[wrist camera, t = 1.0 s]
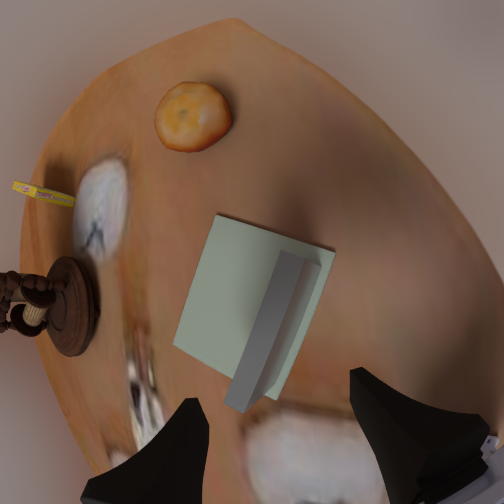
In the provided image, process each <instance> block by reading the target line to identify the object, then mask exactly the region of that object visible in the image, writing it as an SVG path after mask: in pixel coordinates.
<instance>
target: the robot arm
mask: <svg viewBox="0 0 504 504" xmlns="http://www.w3.org/2000/svg"><path fill="white" fill-rule="evenodd" d="M350 402H351V405H352V408H353V411H354V414H355V416H356V419H357V421H358V422H359V424H360V426H361V428H362V430H363V432H364V434H365V436H366V438H367V440H368V442H369V444H370V446H371V447H372V449H373V452H374V454H375V456H376V459H377V462H378V465H379V468H380V470H381V474H382V477H383V480H384V483H385V486H386V490H387V493H388V497H389V501H390V504H504V445H503V446H502V447H500V448H499V449H498V450H496V448H495V447H496V445H497V444H498V442H499V438H498V437H496V436H490V435H488V434H489V431H490V427H489V425H488V424H487V423H486V422H485V421H484V419H483V418H482V417H481V416H480V415H479V414H466V413H457V412H451V411H446V410H442V409H438V408H435V407H431V406H428V405H425V404H423V403H420V402H418V401H415V400H413V399H411V398H409V397H407V396H405V395H403V394H401V393H400V392H398V391H396V390H395V389H393V388H391V387H390V386H388V385H387V384H385V383H384V382H382V381H381V380H379V379H378V378H377V377H375V376H374V375H372V374H371V373H370V372H368V371H367V370H366V369H364V368H363V367H359V368H356V369H353V370H350ZM489 439H490V440H489ZM488 440H489V441H488ZM487 441H488V442H487ZM208 446H209V424H208V421H207V419H206V417H205V414H204V412H203V410H202V407H201V405H200V403H199V400H198V398H185V400H184V401H183V402H182V403H181V405H180V406H179V407H178V409H177V410H176V411H175V413H174V414H173V415H172V417H171V418H170V419H169V421H168V422H167V423H166V424H165V426H164V427H163V428H162V429H161V430H160V431H159V432H158V434H157V435H156V436H155V437H154V438H153V439H152V440H151V441H150V442H149V443H148V444H147V445H146V446H145V447H144V448H142V449H141V450H140V451H139V452H138V453H136V454H135V455H134V456H132V457H131V458H129V459H128V460H127V461H125V462H124V463H122V464H121V465H119V466H117V467H115V468H114V469H112V470H110V471H108V472H106V473H104V474H101V475H99V476H96V477H94V478H91V479H89V480H88V482H87V484H86V486H85V489H84V491H83V493H82V496H81V498H80V500H81V502H82V503H83V504H202V484H203V476H204V470H205V464H206V458H207V452H208Z"/></svg>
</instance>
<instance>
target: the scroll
mask: <svg viewBox="0 0 504 504" xmlns="http://www.w3.org/2000/svg"><path fill="white" fill-rule="evenodd" d="M21 301H22V302H27V303H26V304H18V305H16V306H14V307H13V309H12V310H11V313H10V318H11V321H10V322H8V321H7V320H6V314H7V313H8V310H9V309H10V303H11V302H21ZM98 316H100V312H99V311H97V310H94V300H93V293H92V288H91V284H90V280H89V277H88V275H87V272H86V270H85V268H84V267H83V265H82V264H81V263H80V262H79V261H78V260H77V259H75V258H72V257H61V258H59V259H57V260H56V261H55V262H54V264H53V265H52V267H51V268H50V270H49V273H48V275H47V277H44V276H39V275H36V274H22V273H17V272H15V271H8V272H7V273H0V333H3V332H4V331H5V330H8V328H10V329H13V330H17V331H18V332H19V333H21V334H23V335H24V336H28V337H35V336H37V335H39V334H40V333H41V331H43V330H45V329H47V332H48V334H49V336H50V338H51V340H52V342H53V344H54V345H55V347H56V348H57V349H58V351H59V352H60V353H62V354H63V355H65V356H68V357H73V356H79V355H81V354H82V353H84V352H85V350H86V349H87V347H88V345H89V343H90V340H91V337H92V333H93V326H94V318H96V317H98ZM43 318H44V320H43Z"/></svg>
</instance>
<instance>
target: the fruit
mask: <svg viewBox="0 0 504 504" xmlns="http://www.w3.org/2000/svg"><path fill="white" fill-rule="evenodd" d="M231 123H232V116H231V112H230V109H229V106H228V103H227V101H226V99H225V97H224V96H223V95H222V94H221V93H220V92H219V91H218V90H217V89H216V88H214V87H213V86H211V85H209V84H207V83H202V82H200V83H197V82H182V83H179V84H178V85H176V86H174V87H173V88H172V89H171V90H169V91H168V92H167V93H166V95H165V96H164V97H163V98H162V100H161V101H160V103H159V105H158V108H157V109H156V113H155V120H154V124H155V129H156V132H157V134H158V137H159V139H160V140H161V142H162V144H163V145H164V146H165V147H166V148H168V149H172V150H175V151H179V152H188V153H191V152H200V151H202V150H205V149H206V148H208V147H209V146H211V145H213V144H214V143H216V142H217V141H218V140H220V139H221V138H222V137H223V136H224V135H225V134H226V132H227V131H228V130H229V128H230V126H231Z"/></svg>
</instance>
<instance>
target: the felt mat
mask: <svg viewBox="0 0 504 504" xmlns="http://www.w3.org/2000/svg"><path fill="white" fill-rule="evenodd" d="M281 250H284V251H286V252H289V253H292V254H295V255H298V256H301V257H304V258H306V259H308V260H310V261H311V262H313V263H315V264H317V265H318V266H320V267H322V268H321V271H320V274H319V277H318V280H317V282H316V285H315V288H314V290H313V293H312V296H311V299H310V301H309V304H308V306H307V309H306V312H305V314H304V317H303V319H302V322H301V324H300V327H299V329H298V332H297V334H296V337H295V339H294V342H293V344H292V347H291V349H290V351H289V354H288V356H287V358H286V361H285V363H284V365H283V368H282V370H281V372H280V375H279V377H278V379H277V381H276V384H275V385H274V386H273V387H272V388H271V389H270V390H269V391H268V392H266V393H265V394H264V395H266V396H268V397H270V398H272V399H274V400H277V399H278V397H279V395H280V392H281V390H282V388H283V386H284V384H285V382H286V379H287V377H288V375H289V373H290V371H291V368H292V366H293V364H294V361H295V359H296V357H297V355H298V352H299V350H300V347H301V345H302V343H303V340H304V338H305V335H306V333H307V330H308V328H309V326H310V323H311V321H312V318H313V315H314V313H315V310H316V308H317V305H318V302H319V300H320V297H321V294H322V292H323V289H324V286H325V284H326V281H327V278H328V275H329V272H330V269H331V267H332V264H333V261H334V258H335V255H336V253H334V252H331V251H328V250H325V249H322V248H319V247H316V246H313V245H310V244H307V243H304V242H301V241H298V240H295V239H292V238H289V237H286V236H282V235H279V234H276V233H273V232H270V231H267V230H264V229H260V228H257V227H254V226H251V225H248V224H245V223H241V222H238V221H235V220H232V219H228V218H225V217H222V216H219V215H216V216H215V219H214V222H213V224H212V227H211V230H210V233H209V236H208V238H207V241H206V244H205V247H204V250H203V253H202V255H201V258H200V261H199V264H198V267H197V270H196V273H195V276H194V279H193V282H192V285H191V288H190V291H189V294H188V297H187V300H186V303H185V306H184V309H183V313H182V316H181V319H180V322H179V325H178V329H177V332H176V335H175V338H174V342H173V345H175V346H177V347H178V348H180V349H181V350H183V351H185V352H186V353H188V354H190V355H191V356H193V357H195V358H196V359H198V360H200V361H201V362H203V363H205V364H207V365H208V366H210V367H212V368H214V369H215V370H217V371H219V372H221V373H223V374H225V375H226V376H228V377H230V378H232V379H233V377H234V374H235V372H236V369H237V367H238V364H239V362H240V359H241V356H242V354H243V351H244V349H245V346H246V343H247V341H248V338H249V336H250V333H251V330H252V328H253V325H254V322H255V320H256V317H257V314H258V312H259V309H260V306H261V304H262V301H263V298H264V295H265V293H266V290H267V287H268V284H269V282H270V279H271V276H272V273H273V271H274V268H275V265H276V262H277V260H278V257H279V254H280V251H281Z"/></svg>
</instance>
